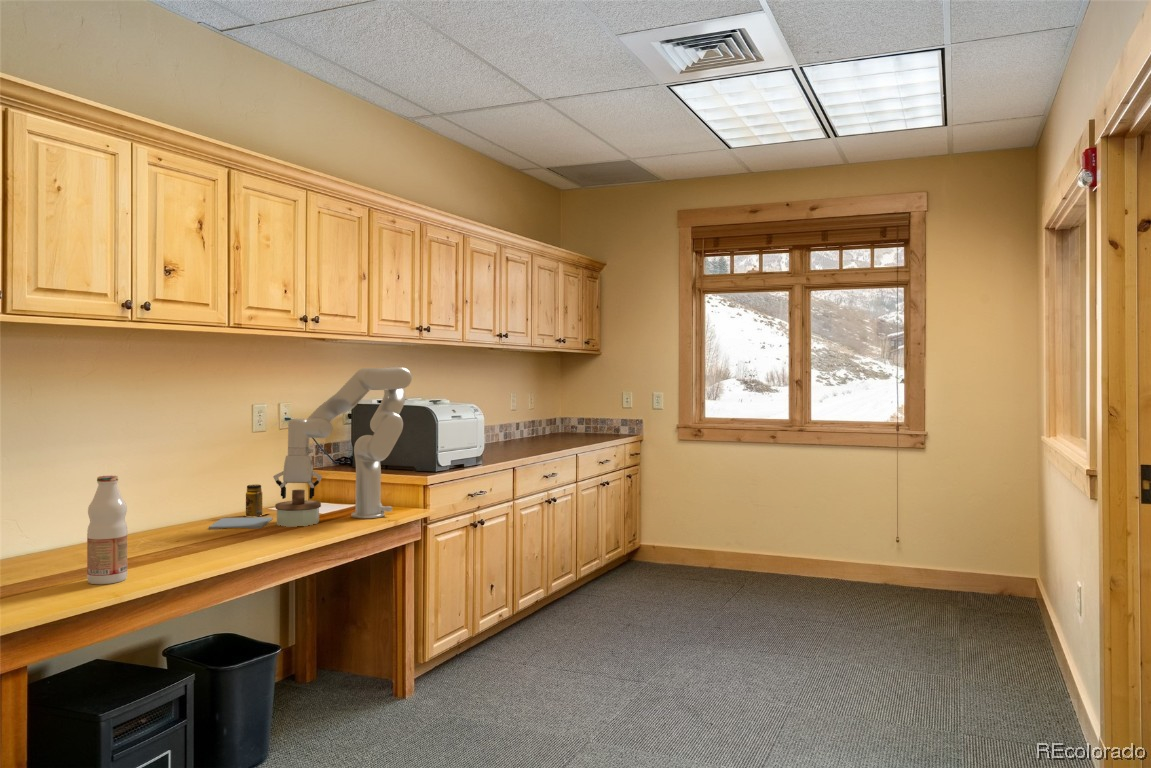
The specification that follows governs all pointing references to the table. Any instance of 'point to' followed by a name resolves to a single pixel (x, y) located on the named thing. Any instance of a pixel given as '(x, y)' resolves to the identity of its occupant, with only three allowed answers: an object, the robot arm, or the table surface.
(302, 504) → the lid
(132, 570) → the table surface
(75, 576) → the table surface
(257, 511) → the condiment
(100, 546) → the fruit juice
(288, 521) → the bowl
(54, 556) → the table surface
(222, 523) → the mat
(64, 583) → the table surface
